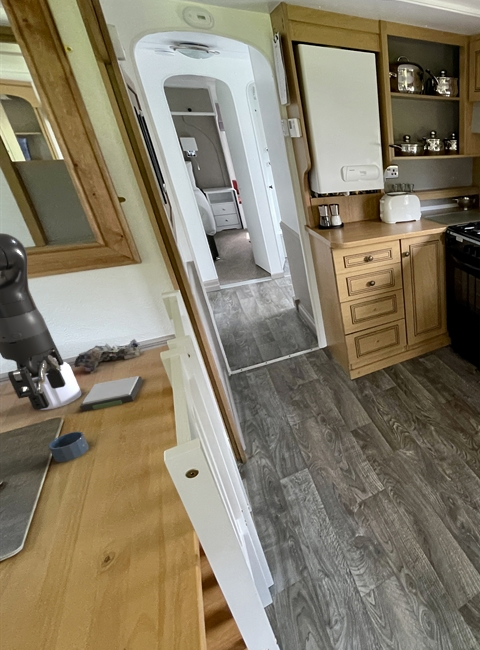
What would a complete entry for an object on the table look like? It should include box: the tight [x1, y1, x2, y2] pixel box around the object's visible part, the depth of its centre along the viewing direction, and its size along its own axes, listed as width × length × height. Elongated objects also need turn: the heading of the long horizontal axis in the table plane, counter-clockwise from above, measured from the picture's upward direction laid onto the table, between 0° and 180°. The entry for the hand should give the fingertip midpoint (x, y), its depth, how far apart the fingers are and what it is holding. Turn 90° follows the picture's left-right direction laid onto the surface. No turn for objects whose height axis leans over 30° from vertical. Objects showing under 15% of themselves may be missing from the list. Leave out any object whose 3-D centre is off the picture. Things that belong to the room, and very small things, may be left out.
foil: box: [73, 338, 141, 374], centre depth 125 cm, size 12×11×15 cm
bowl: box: [47, 430, 90, 463], centre depth 88 cm, size 6×6×4 cm
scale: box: [79, 375, 144, 412], centre depth 109 cm, size 11×11×3 cm
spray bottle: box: [32, 361, 82, 411], centre depth 102 cm, size 9×9×25 cm
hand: (51, 397), depth 84 cm, fingers open, 8 cm apart
